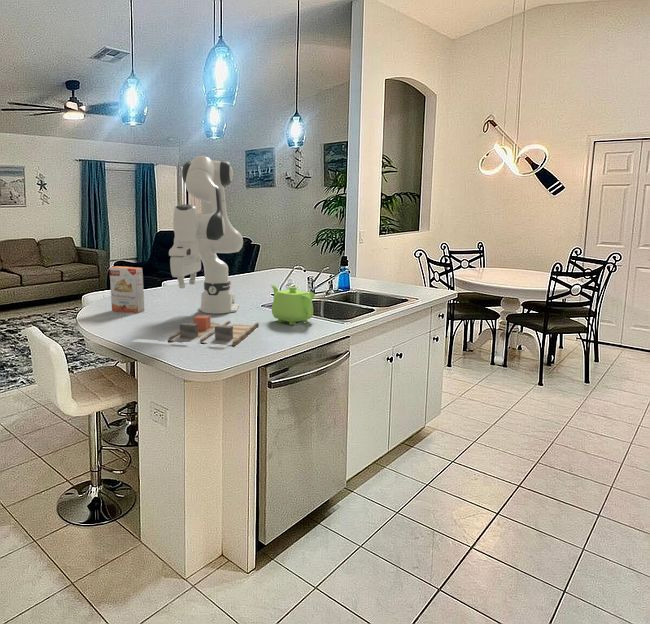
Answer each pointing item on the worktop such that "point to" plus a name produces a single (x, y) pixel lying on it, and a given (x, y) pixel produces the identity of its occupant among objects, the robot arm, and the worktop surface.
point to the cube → (202, 322)
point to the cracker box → (127, 289)
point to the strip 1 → (193, 330)
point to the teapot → (292, 305)
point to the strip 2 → (229, 332)
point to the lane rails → (224, 325)
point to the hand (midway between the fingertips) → (187, 286)
